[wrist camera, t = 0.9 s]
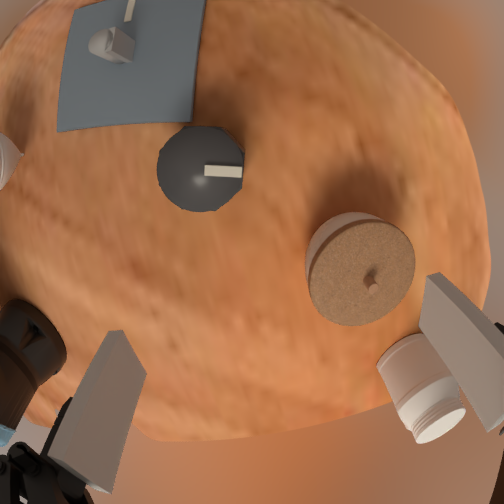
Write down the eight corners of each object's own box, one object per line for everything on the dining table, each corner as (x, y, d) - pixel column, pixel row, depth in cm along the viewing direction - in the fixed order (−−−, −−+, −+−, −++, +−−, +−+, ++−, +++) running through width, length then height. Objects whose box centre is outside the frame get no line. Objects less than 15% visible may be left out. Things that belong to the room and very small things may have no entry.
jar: (371, 357, 38) (405, 434, 24) (422, 324, 36) (470, 392, 22) (388, 388, 42) (416, 452, 28) (432, 360, 40) (468, 419, 26)
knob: (175, 193, 28) (155, 211, 21) (177, 128, 25) (156, 126, 19) (241, 196, 28) (239, 215, 22) (246, 130, 26) (246, 128, 19)
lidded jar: (278, 267, 32) (289, 318, 23) (325, 182, 28) (358, 204, 19) (352, 298, 34) (380, 347, 25) (398, 226, 30) (443, 259, 21)
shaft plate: (61, 131, 24) (29, 135, 19) (78, 12, 18) (52, -3, 12) (192, 122, 25) (177, 118, 19) (208, -11, 19) (200, -38, 13)
